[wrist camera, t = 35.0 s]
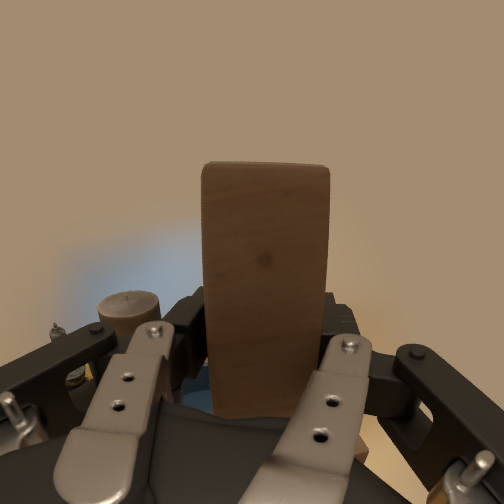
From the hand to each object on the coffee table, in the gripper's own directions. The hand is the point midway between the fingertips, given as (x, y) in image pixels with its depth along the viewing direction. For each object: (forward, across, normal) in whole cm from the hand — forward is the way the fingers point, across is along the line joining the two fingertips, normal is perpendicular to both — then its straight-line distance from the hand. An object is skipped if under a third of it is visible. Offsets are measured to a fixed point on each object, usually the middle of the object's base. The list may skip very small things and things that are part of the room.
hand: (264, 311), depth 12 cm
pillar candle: (+23, +22, +26) cm, 41 cm away
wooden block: (-3, -2, +9) cm, 10 cm away
